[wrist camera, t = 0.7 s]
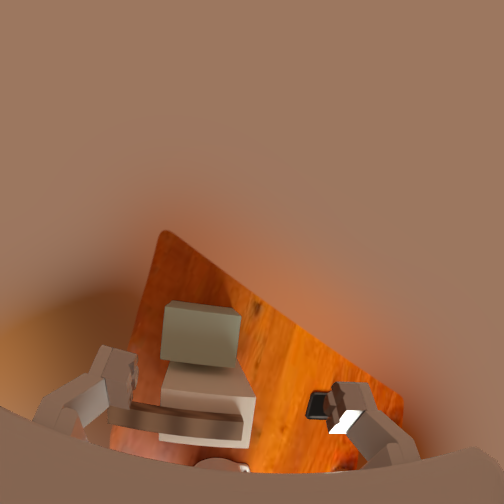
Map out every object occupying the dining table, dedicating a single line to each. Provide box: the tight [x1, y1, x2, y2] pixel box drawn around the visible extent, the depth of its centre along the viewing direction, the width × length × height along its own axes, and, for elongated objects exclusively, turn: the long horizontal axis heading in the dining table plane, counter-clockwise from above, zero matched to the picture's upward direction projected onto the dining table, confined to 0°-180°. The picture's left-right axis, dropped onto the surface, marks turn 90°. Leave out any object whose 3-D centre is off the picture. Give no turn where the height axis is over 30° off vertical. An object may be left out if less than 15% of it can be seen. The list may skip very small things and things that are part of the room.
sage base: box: [160, 300, 241, 368], centre depth 63 cm, size 14×10×16 cm
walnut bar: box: [107, 402, 244, 441], centre depth 43 cm, size 21×4×3 cm, turn 83°
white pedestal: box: [159, 358, 256, 448], centre depth 58 cm, size 15×10×26 cm, turn 83°
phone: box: [306, 392, 328, 420], centre depth 75 cm, size 8×1×15 cm
